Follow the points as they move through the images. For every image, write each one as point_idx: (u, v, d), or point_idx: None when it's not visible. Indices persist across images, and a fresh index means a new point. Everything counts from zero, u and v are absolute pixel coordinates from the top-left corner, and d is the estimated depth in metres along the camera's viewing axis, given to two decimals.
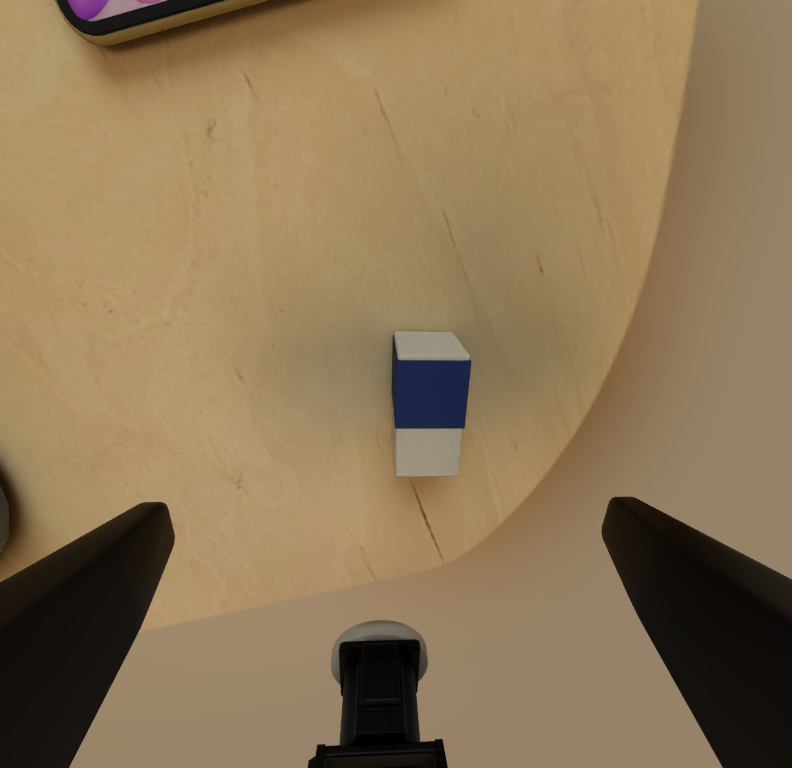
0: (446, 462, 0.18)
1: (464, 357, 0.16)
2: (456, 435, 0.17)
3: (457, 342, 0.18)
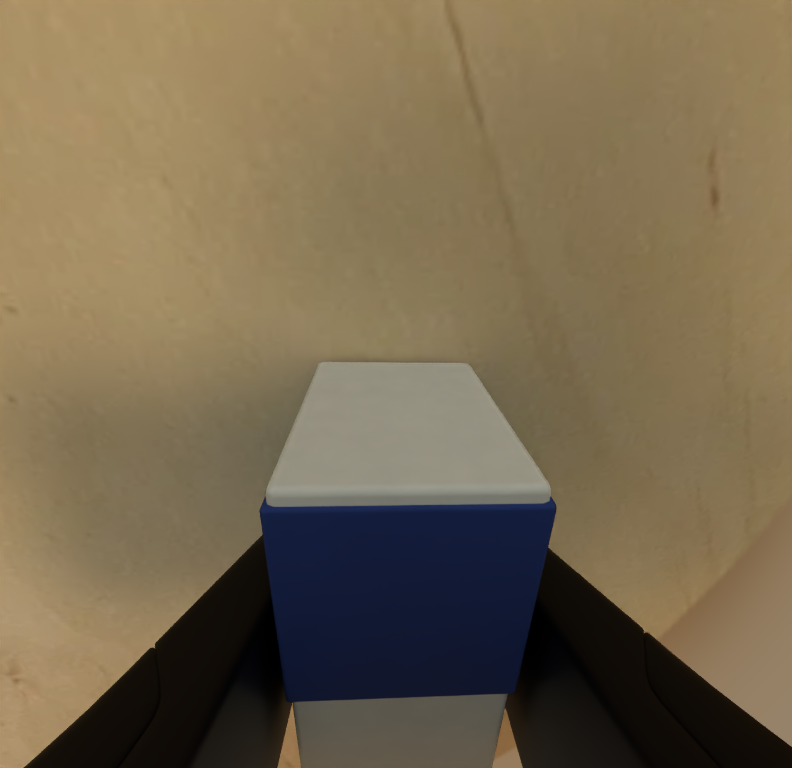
0: (455, 765, 0.06)
1: (530, 492, 0.04)
2: (488, 708, 0.05)
3: (489, 405, 0.06)
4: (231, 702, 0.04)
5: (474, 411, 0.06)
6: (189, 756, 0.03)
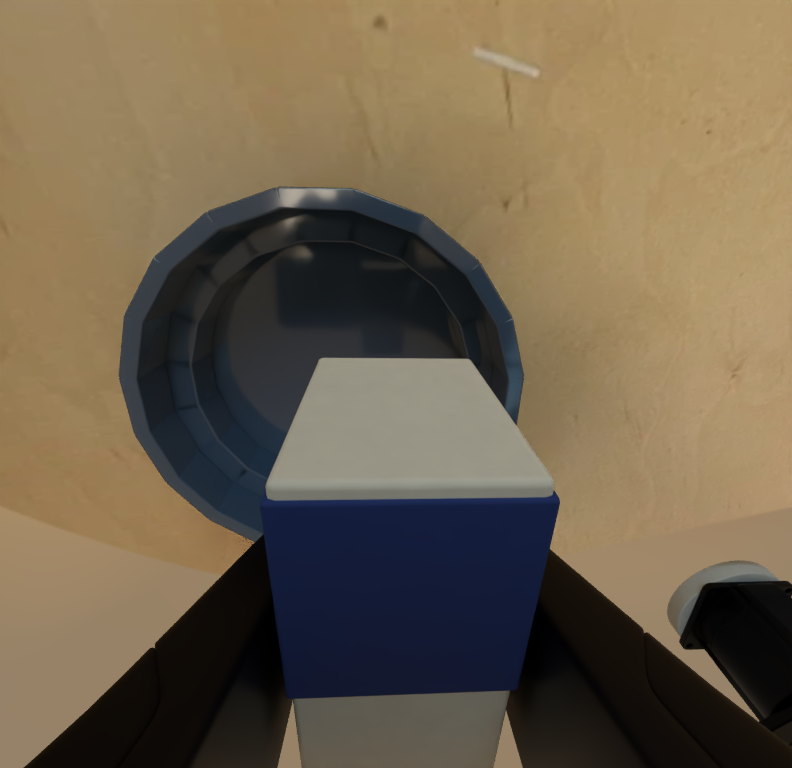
0: (457, 762, 0.06)
1: (533, 486, 0.04)
2: (490, 705, 0.05)
3: (491, 400, 0.06)
4: (231, 702, 0.04)
5: (476, 406, 0.06)
6: (189, 756, 0.03)
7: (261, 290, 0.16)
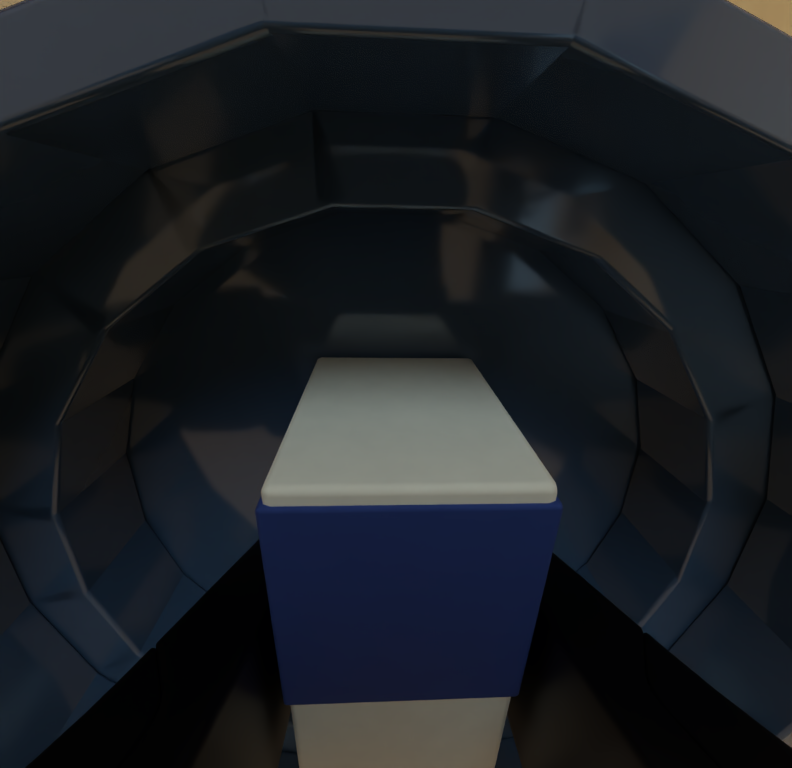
0: None
1: (536, 492, 0.04)
2: (491, 711, 0.05)
3: (492, 402, 0.06)
4: (232, 702, 0.04)
5: (477, 407, 0.05)
6: (190, 756, 0.03)
7: (229, 328, 0.07)
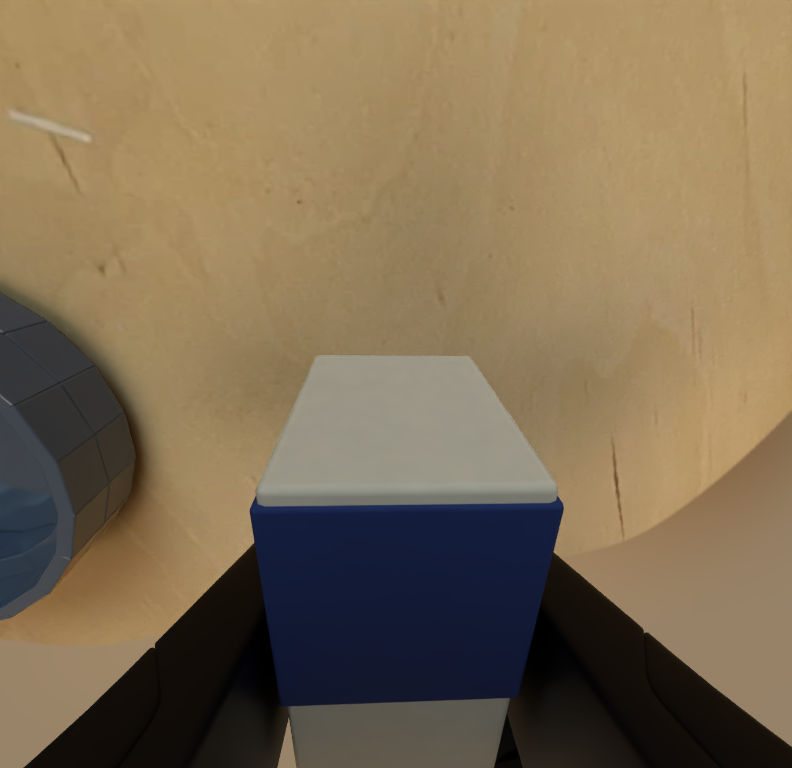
0: None
1: (536, 491, 0.04)
2: (490, 712, 0.05)
3: (492, 399, 0.06)
4: (231, 702, 0.04)
5: (476, 405, 0.05)
6: (189, 756, 0.03)
7: None
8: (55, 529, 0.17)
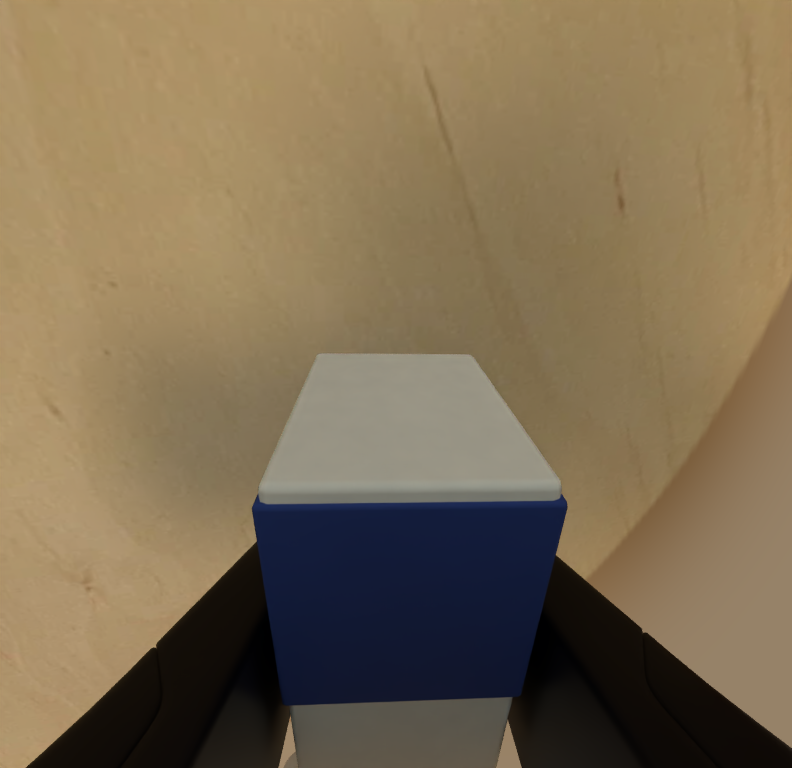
0: None
1: (540, 489, 0.04)
2: (492, 711, 0.05)
3: (494, 398, 0.06)
4: (233, 702, 0.04)
5: (479, 403, 0.05)
6: (191, 756, 0.03)
7: None
8: None
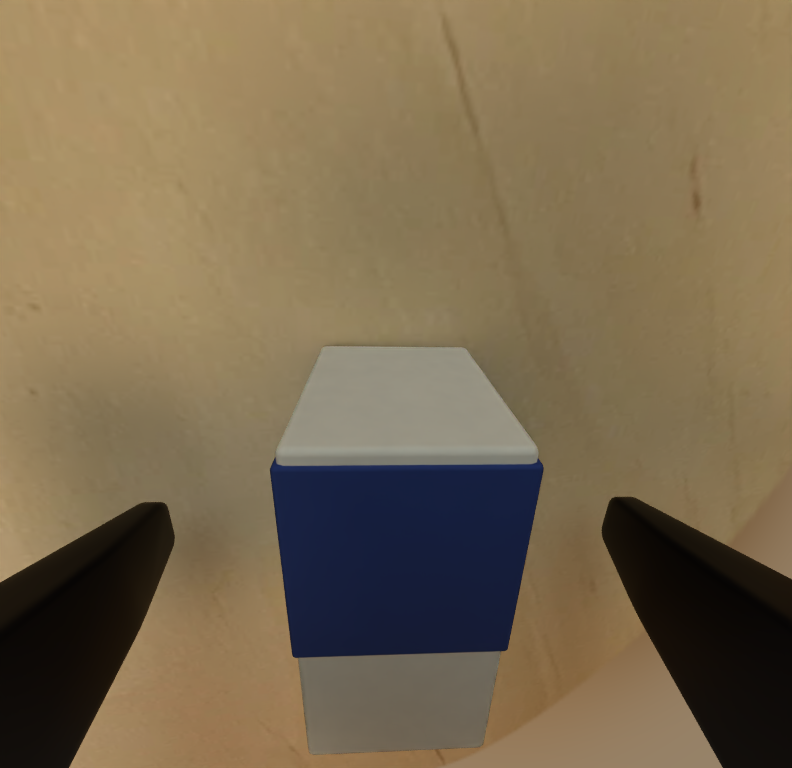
0: (452, 723, 0.06)
1: (519, 454, 0.04)
2: (482, 666, 0.06)
3: (483, 383, 0.06)
4: None
5: (469, 387, 0.06)
6: None
7: None
8: None
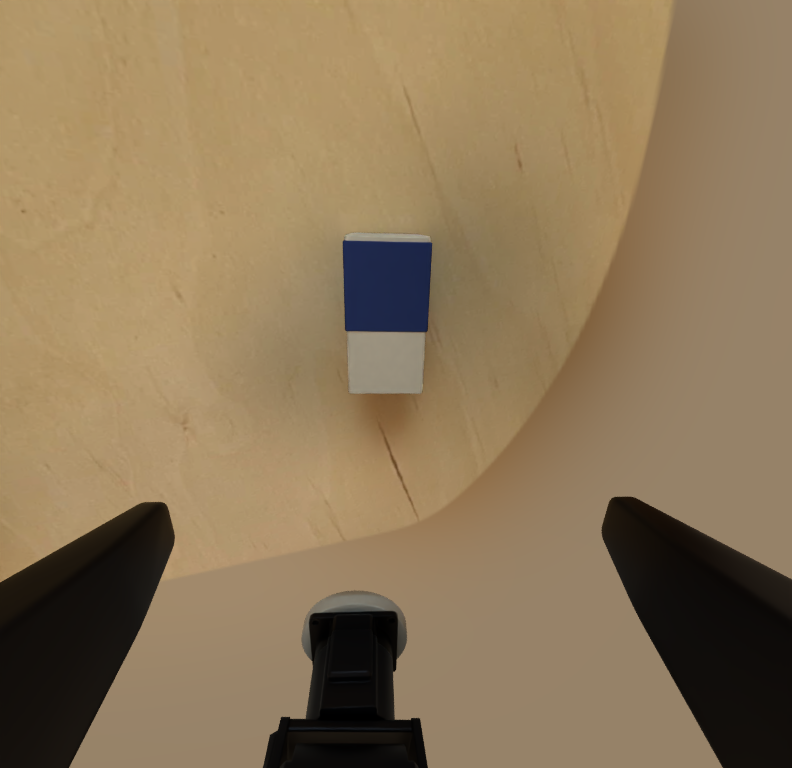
0: (408, 375, 0.15)
1: (423, 238, 0.13)
2: (418, 341, 0.15)
3: None
4: None
5: None
6: None
7: None
8: None
